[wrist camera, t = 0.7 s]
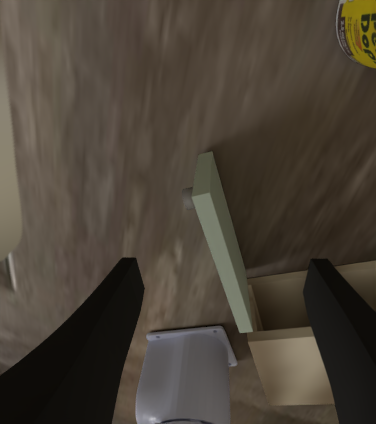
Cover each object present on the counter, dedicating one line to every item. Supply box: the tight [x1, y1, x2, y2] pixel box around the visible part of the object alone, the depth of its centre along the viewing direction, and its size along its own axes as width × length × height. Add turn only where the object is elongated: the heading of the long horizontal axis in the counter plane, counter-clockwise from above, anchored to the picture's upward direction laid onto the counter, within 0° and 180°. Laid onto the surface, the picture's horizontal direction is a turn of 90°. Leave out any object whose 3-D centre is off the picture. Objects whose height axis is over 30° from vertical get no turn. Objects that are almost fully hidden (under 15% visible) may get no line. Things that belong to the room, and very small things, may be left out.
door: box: [182, 151, 253, 333], centre depth 20 cm, size 12×2×6 cm, turn 18°
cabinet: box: [247, 261, 376, 406], centre depth 25 cm, size 13×11×6 cm
